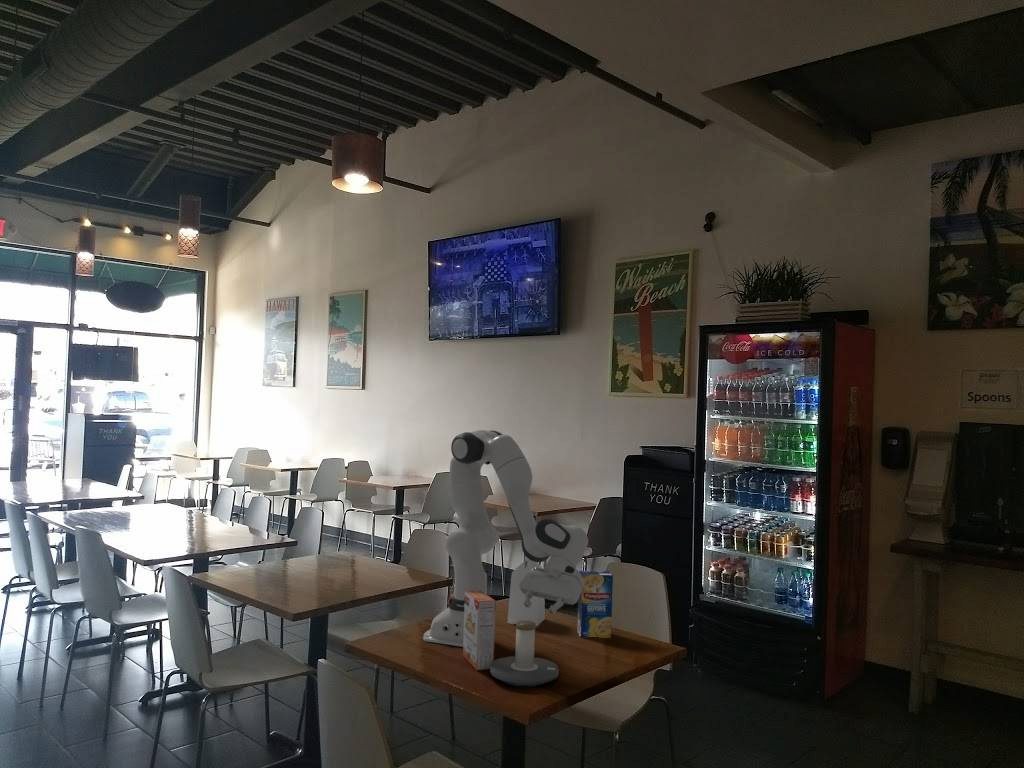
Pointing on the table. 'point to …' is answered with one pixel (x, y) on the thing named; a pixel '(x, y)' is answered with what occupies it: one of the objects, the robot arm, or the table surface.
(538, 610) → the milk
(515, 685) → the lazy susan base
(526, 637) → the jar
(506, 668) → the lazy susan
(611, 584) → the blue cardboard box
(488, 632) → the cracker box
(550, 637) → the table surface
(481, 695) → the table surface
